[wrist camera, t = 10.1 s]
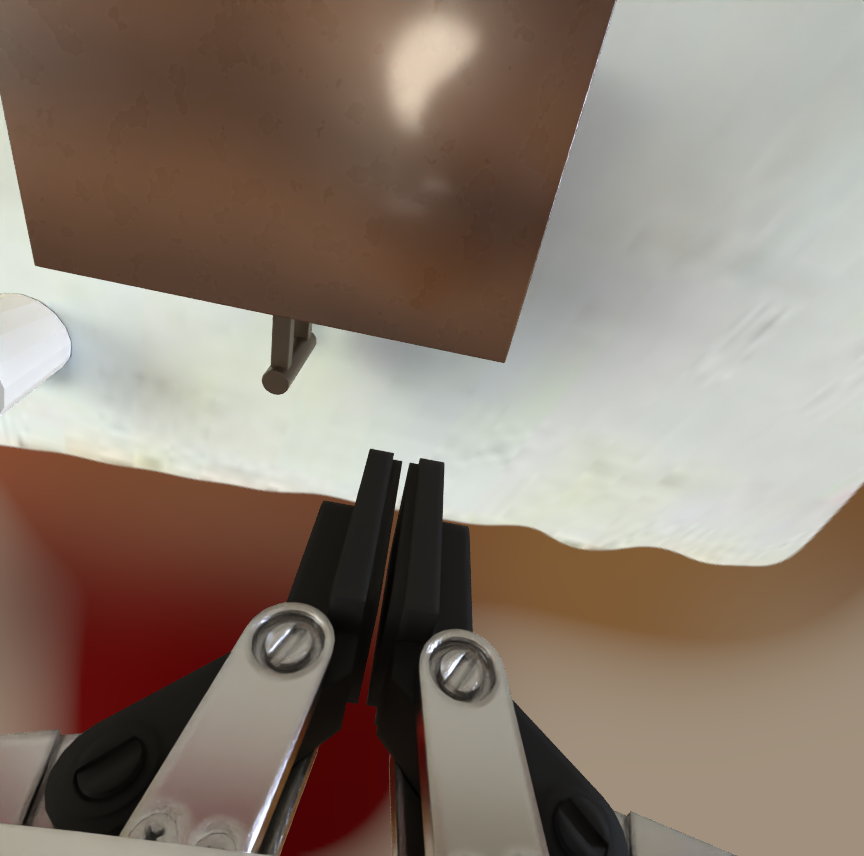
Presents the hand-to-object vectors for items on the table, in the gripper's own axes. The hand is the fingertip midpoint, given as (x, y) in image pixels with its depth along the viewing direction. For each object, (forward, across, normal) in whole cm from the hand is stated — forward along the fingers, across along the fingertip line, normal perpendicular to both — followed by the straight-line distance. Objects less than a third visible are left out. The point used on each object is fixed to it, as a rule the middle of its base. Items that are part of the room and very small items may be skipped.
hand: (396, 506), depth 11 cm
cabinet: (+23, +6, -7) cm, 25 cm away
